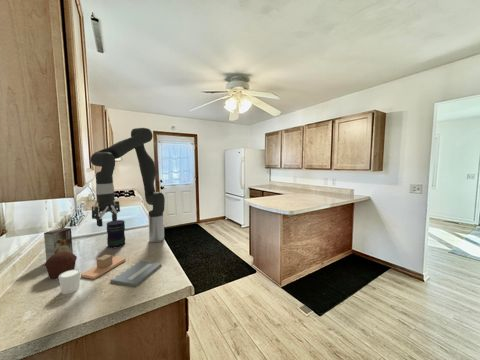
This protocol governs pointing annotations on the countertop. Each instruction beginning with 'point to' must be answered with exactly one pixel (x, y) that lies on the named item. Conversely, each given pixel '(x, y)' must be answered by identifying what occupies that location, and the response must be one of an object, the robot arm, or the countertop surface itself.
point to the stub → (103, 266)
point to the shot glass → (69, 281)
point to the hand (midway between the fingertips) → (107, 223)
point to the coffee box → (58, 241)
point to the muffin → (60, 264)
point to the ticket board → (136, 273)
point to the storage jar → (116, 234)
